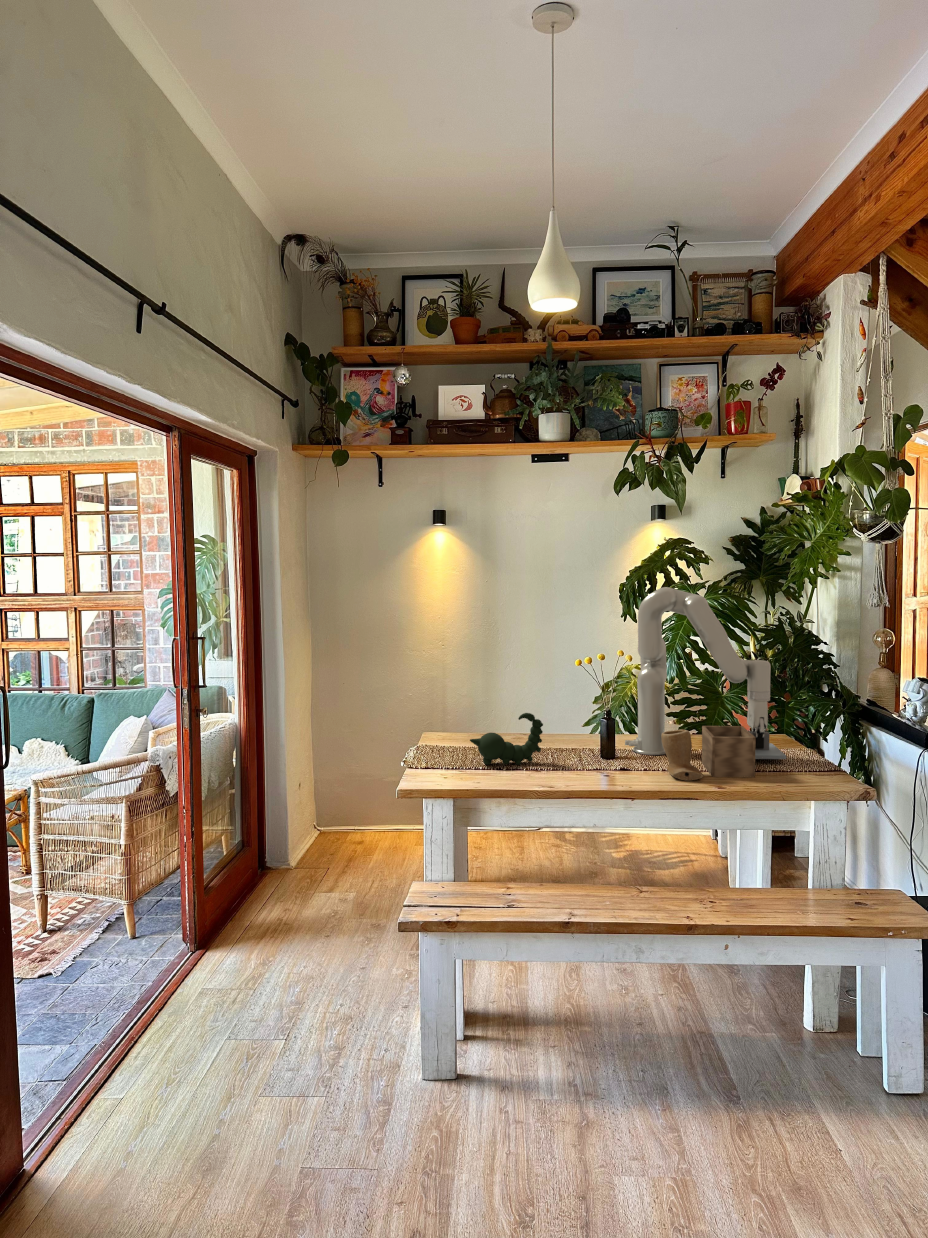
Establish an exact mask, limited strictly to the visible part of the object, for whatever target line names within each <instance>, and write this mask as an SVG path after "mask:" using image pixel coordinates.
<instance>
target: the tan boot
mask: <svg viewBox="0 0 928 1238" xmlns="http://www.w3.org/2000/svg"><path fill="white" fill-rule="evenodd" d="M691 737H692V736H691V733H690V731H689V730H687V729H675V730H668V731H667V730H666V731H665V732H663V733H662V735H661V738H662V745H663V748H664V750H665V752H666V754H665V755H666V757H667V759H668V766H667V767H666V771H667V772H668V773H669V775H671V776H672V777H673V778H675V779H679V780H681V781H686V782H689V781H697V780H698V779H702V778H703V777H704V775H703V774H702V772H701V771H700V770H699V769H698V767H696V766H695V765H694V764H692V763H691V756H692V755H691V754H692V748H693V745H692V744H693V742H692V738H691Z"/></svg>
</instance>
